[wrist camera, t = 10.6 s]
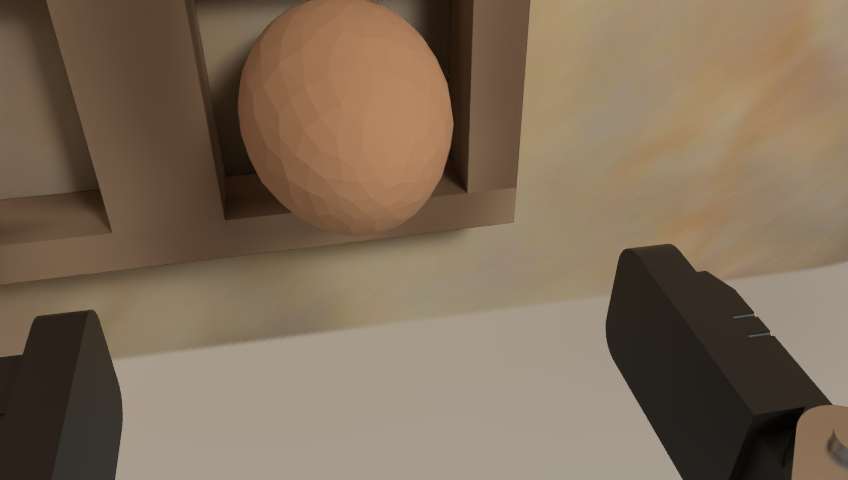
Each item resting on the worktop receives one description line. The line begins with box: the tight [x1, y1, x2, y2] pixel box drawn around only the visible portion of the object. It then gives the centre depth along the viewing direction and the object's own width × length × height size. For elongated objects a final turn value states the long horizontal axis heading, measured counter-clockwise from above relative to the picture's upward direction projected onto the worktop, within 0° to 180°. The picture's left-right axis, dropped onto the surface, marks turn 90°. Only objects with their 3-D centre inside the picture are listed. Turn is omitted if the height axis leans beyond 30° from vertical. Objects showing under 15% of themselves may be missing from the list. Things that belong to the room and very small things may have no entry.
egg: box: [238, 0, 454, 236], centre depth 19 cm, size 5×5×8 cm
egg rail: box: [0, 0, 530, 285], centre depth 20 cm, size 20×10×2 cm, turn 90°
